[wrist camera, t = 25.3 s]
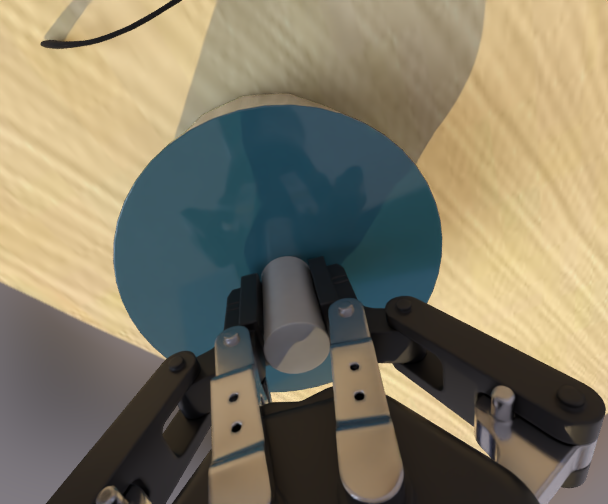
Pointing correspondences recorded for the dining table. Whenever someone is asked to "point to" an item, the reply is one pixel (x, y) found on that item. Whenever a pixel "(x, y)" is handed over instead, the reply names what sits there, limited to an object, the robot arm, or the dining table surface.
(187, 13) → the dining table surface
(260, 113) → the lid
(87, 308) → the dining table surface
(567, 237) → the dining table surface
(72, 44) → the eyeglasses
